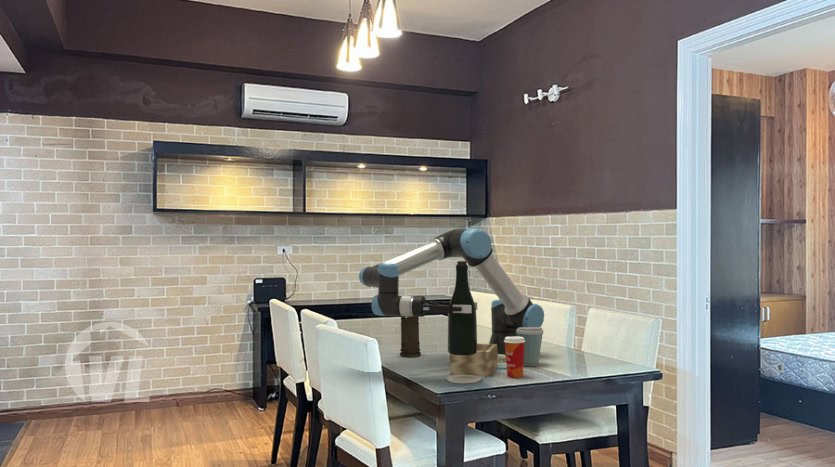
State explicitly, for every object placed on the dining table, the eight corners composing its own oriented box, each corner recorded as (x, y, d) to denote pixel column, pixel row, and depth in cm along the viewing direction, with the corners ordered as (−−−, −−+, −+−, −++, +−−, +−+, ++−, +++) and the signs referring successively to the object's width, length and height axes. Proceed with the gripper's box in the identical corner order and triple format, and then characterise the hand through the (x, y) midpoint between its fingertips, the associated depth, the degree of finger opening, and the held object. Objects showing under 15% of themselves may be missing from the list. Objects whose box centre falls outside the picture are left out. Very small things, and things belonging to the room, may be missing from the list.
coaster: (478, 375, 235) (478, 373, 235) (483, 383, 223) (483, 381, 223) (445, 376, 234) (445, 374, 234) (448, 384, 222) (448, 382, 222)
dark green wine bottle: (472, 350, 234) (472, 260, 235) (480, 355, 224) (480, 261, 224) (444, 351, 232) (444, 260, 233) (451, 356, 222) (450, 261, 222)
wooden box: (450, 374, 237) (449, 350, 237) (459, 365, 252) (459, 343, 252) (490, 376, 233) (489, 351, 233) (497, 367, 248) (497, 344, 248)
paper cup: (502, 374, 236) (501, 336, 236) (522, 373, 237) (522, 335, 237) (507, 379, 228) (506, 339, 228) (528, 378, 229) (527, 339, 229)
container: (418, 357, 270) (418, 315, 270) (398, 357, 272) (397, 315, 272) (422, 353, 279) (422, 312, 279) (402, 353, 281) (402, 312, 281)
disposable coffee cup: (511, 363, 255) (510, 325, 255) (534, 361, 259) (534, 324, 259) (525, 368, 245) (524, 329, 245) (549, 366, 249) (548, 327, 249)
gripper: (422, 313, 244) (480, 314, 237) (404, 320, 223) (467, 322, 216) (422, 293, 244) (480, 294, 237) (404, 298, 223) (467, 300, 216)
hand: (474, 307), depth 227 cm, fingers closed on dark green wine bottle, 9 cm apart
